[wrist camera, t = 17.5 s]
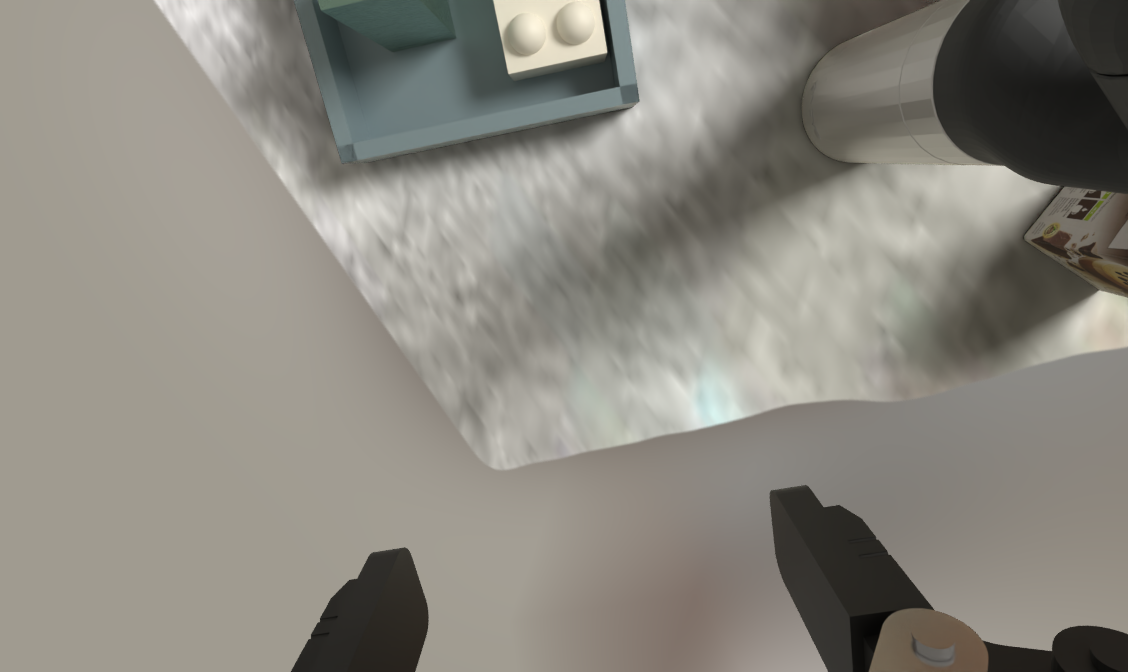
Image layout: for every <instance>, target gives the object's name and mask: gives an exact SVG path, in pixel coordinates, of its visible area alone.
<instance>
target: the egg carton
mask: <svg viewBox="0 0 1128 672" xmlns="http://www.w3.org/2000/svg"><path fill="white" fill-rule="evenodd" d="M493 1H494V6H495V11H496V16H497V21H498V26H499V30H500V35H501V40H502V45H503V50H504V55H505V60H506V65H507V69H508V74H509V75H510V77H511V78H512V79H513V81H518V80H523V79H527V78H532V77H537V76H541V75H546V74H551V73H555V72H560V71H565V70H569V69H574V68H578V67H583V66H588V65H592V64H597V63H602V62H604V61H605V58H606V55H607V47H606V41H605V35H604V28H603V22H602V16H601V9H600V3H599V0H493Z"/></svg>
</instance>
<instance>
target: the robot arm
mask: <svg viewBox="0 0 1128 672" xmlns="http://www.w3.org/2000/svg"><path fill="white" fill-rule="evenodd" d="M802 119H803V125H804V128H805V130H806V133H807V135H808V137H809V139H810V140H811V141H812V143H813V144H814V146H815V147H816V148H817V149H819V150H820V151H821V152H822V153H823V154H824V155H826V156H828V157H830V158H832V159H834V160H838V161H842V162H852V163H881V164H931V165H996V166H1006V167H1007V168H1009V169H1011V170H1012V171H1014V172H1016V173H1017V174H1019V175H1021V176H1023V177H1025V178H1028V179H1030V180H1033V181H1036V182H1040V183H1044V184H1050V185H1057V186H1065V187H1073V188H1081V189H1089V190H1097V191H1106V192H1113V193H1121V194H1128V0H941V1H939V2H937V3H934V4H932V5H929V6H927V7H925V8H922V9H920V10H918V11H915V12H913V13H911V14H908V15H906V16H904V17H901V18H899V19H897V20H894V21H892V22H890V23H887V24H885V25H883V26H880V27H878V28H875V29H873V30H870V31H868V32H866V33H863V34H861V35H859V36H857V37H854V38H852V39H850V40H848V41H845V42H843V43H841V44H839V45H838V46H836V47H835V48H833V49H832V50H830V51H829V52H828V53H827V54H826V55H825V56H824V57H823V58H822V59H821V60H820V61H819V62H818V64H817V65H816V67H815V68H814V70H813V71H812V72H811V74H810V76H809V79H808V81H807V83H806V86H805V89H804V93H803V98H802ZM770 506H771V516H772V526H773V535H774V544H775V554H776V559H777V563H778V567H779V570H780V573H781V576H782V579H783V581H784V583H785V585H786V587H787V589H788V591H789V593H790V595H791V597H792V599H793V601H794V603H795V605H796V607H797V609H798V611H799V613H800V615H801V617H802V620H803V622H804V623H805V626H806V628H807V629H808V632H809V634H810V636H811V638H812V640H813V642H814V644H815V645H816V648H817V650H818V652H819V654H820V656H821V658H822V660H823V662H824V664H825V666H826V668H827V670H828V672H1128V634H1125V633H1123V632H1119V631H1116V630H1112V629H1108V628H1103V627H1097V626H1076V627H1070V628H1067V629H1064V630H1062V631H1061V632H1059V633H1058V634H1057V635H1056V636H1055V638H1054V641H1053V645H1052V651H1045V650H1036V649H1028V648H1020V647H1011V646H1004V645H998V644H993V643H989V642H986V641H983V640H982V639H981V638H980V637H979V635H978V634H976V632H975V631H973V629H971V628H970V627H969V626H967V625H966V624H965V623H963V622H962V621H960V620H958V619H956V618H954V617H952V616H950V615H948V614H945V613H942V612H939V611H935V610H934V609H933V608H932V606H931V605H930V604H929V603H928V601H927V600H926V599H925V598H924V596H923V595H922V594H921V593H920V591H919V590H918V589H917V588H916V586H915V585H914V584H913V582H912V581H911V580H910V579H909V577H908V576H907V575H906V574H905V572H904V571H903V570H902V569H901V567H900V566H899V565H898V564H897V562H896V561H895V560H894V559H893V558H892V556H891V555H888V552H887V550H886V549H885V547H884V546H883V545H882V544H881V542H880V541H879V540H876V536H875V535H874V534H873V532H872V531H871V530H870V529H869V527H868V526H867V525H866V524H865V522H864V521H863V520H862V519H861V518H860V517H858V516H856V515H855V514H853V513H851V512H850V511H848V510H847V509H845V508H843V507H841V506H840V505H836V506H830V507H823V506H822V505H821V503H820V502H819V500H818V499H817V498H816V496H815V495H814V493H813V492H812V491H811V489H810V488H809V487H808V486H807V485H803V486H797V487H790V488H784V489H779V490H771V492H770ZM427 630H428V607H427V603H426V599H425V596H424V593H423V590H422V587H421V584H420V581H419V577H418V574H417V571H416V568H415V565H414V562H413V559H412V556H411V553H410V551H409V550H408V549H407V548H399V549H393V550H386V551H380V552H373V553H371V554H370V556H369V557H368V559H367V561H366V563H365V565H364V567H363V569H362V571H361V573H360V575H359V576H358V579H353V580H349V581H348V582H347V583H346V584H345V585H344V586H343V587H342V588H341V589H340V590H339V591H338V592H337V593H336V594H335V595H334V596H333V597H332V598H331V599H330V601H329V603H328V605H327V607H326V609H325V611H324V612H323V614H322V616H321V618H320V622H319V623H317V625H316V627H315V629H314V631H313V632H312V634H311V639H309V640H308V642H307V643H306V645H305V647H304V649H303V650H302V652H301V654H300V656H299V658H298V660H297V661H296V663H295V665H294V667H293V669H292V671H291V672H415V671H416V667H417V664H418V661H419V658H420V654H421V651H422V648H423V645H424V641H425V638H426V635H427Z"/></svg>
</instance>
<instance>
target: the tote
mask: <svg viewBox="0 0 1128 672" xmlns="http://www.w3.org/2000/svg"><path fill="white" fill-rule="evenodd" d="M448 2H449V7H450V11H451V15H452V20H453V24H454V28H455V33H456V37H457V38H455V39H450V40H446V41H442V42H437V43H433V44H428V45H424V46H419V47H415V48H410V49H406V50H401V51H397V52H391V51H389V50H388V49H386V48H384V47H383V46H381V45H379V44H377V43H376V42H374V41H372V40H371V39H369V38H367V37H365V36H364V35H362V34H360V33H359V32H357V31H355V30H353V29H352V28H350V27H348V26H346V25H345V24H343V23H341V22H340V21H338V20H336V19H334V18H333V17H331V16H329V15H328V14H326V13H324V12H322V11H321V9H320V6H319V3H318V0H294V3H295V6H296V10H297V13H298V17H299V20H300V23H301V27H302V30H303V33H304V37H305V40H306V44H307V47H308V50H309V54H310V57H311V61H312V64H313V67H314V71H315V74H316V77H317V81H318V84H319V88H320V91H321V94H322V98H323V101H324V104H325V108H326V111H327V115H328V118H329V121H330V125H331V128H332V132H333V135H334V138H335V142H336V145H337V148H338V152H339V155H340V159H341V162H342V164H343V163H367V162H372V161H377V160H382V159H387V158H391V157H396V156H401V155H406V154H410V153H415V152H420V151H425V150H430V149H434V148H439V147H444V146H449V145H454V144H458V143H463V142H468V141H473V140H477V139H482V138H487V137H492V136H497V135H501V134H506V133H511V132H516V131H521V130H525V129H530V128H535V127H540V126H545V125H549V124H554V123H559V122H564V121H568V120H573V119H578V118H583V117H588V116H592V115H597V114H602V113H607V112H612V111H616V110H621V109H626V108H631V107H633V106H634V105H636V104H637V103H638V102H639V94H638V87H637V80H636V73H635V67H634V60H633V53H632V46H631V39H630V32H629V25H628V18H627V11H626V5H625V0H599V3H600V9H601V16H602V22H603V28H604V35H605V41H606V47H607V55H606V58H605V61H604V62H602V63H597V64H592V65H588V66H583V67H578V68H574V69H569V70H565V71H560V72H555V73H551V74H546V75H541V76H537V77H532V78H527V79H523V80H518V81H513V79H512V78H511V77H510V75H509V74H508V69H507V65H506V60H505V55H504V50H503V45H502V40H501V35H500V30H499V26H498V21H497V16H496V11H495V6H494V1H493V0H448Z"/></svg>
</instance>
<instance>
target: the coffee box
mask: <svg viewBox="0 0 1128 672" xmlns="http://www.w3.org/2000/svg"><path fill="white" fill-rule="evenodd" d="M1024 240H1025V241H1027V242H1028V243H1030V244H1031V245H1033V246H1034V247H1035V248H1037V249H1038V250H1040V251H1041V252H1043V253H1044V254H1046V255H1048V256H1049V257H1051V258H1052V259H1054V260H1055V261H1057V262H1058V263H1060V264H1061V265H1063V266H1064V267H1066V268H1067V269H1069V270H1070V271H1072V272H1073V273H1075V274H1076V275H1078V276H1079V277H1081V278H1082V279H1084V280H1085V281H1087V282H1088V283H1090V284H1091V285H1093V286H1094V287H1096V288H1097V289H1099V290H1101V291H1105V292H1109V293H1113V294H1116V295H1120V296H1124V297H1128V194H1121V193H1113V192H1106V191H1097V190H1089V189H1081V188H1073V187H1064V188H1063V189H1062V190H1061V192H1060V193H1059V194H1058V195H1057V196H1056V198H1055V199H1054V200H1053V201H1052V202H1051V204H1050V205H1049V206H1048V207H1047V208H1046V210H1045V211H1044V212H1043V213H1042V215H1041V216H1040V217H1039V218H1038V219H1037V221H1036V222H1035V223H1034V224H1033V225H1032V227H1031V228H1030V229H1029V230H1028V232H1027V233H1026V234H1025V236H1024Z"/></svg>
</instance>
